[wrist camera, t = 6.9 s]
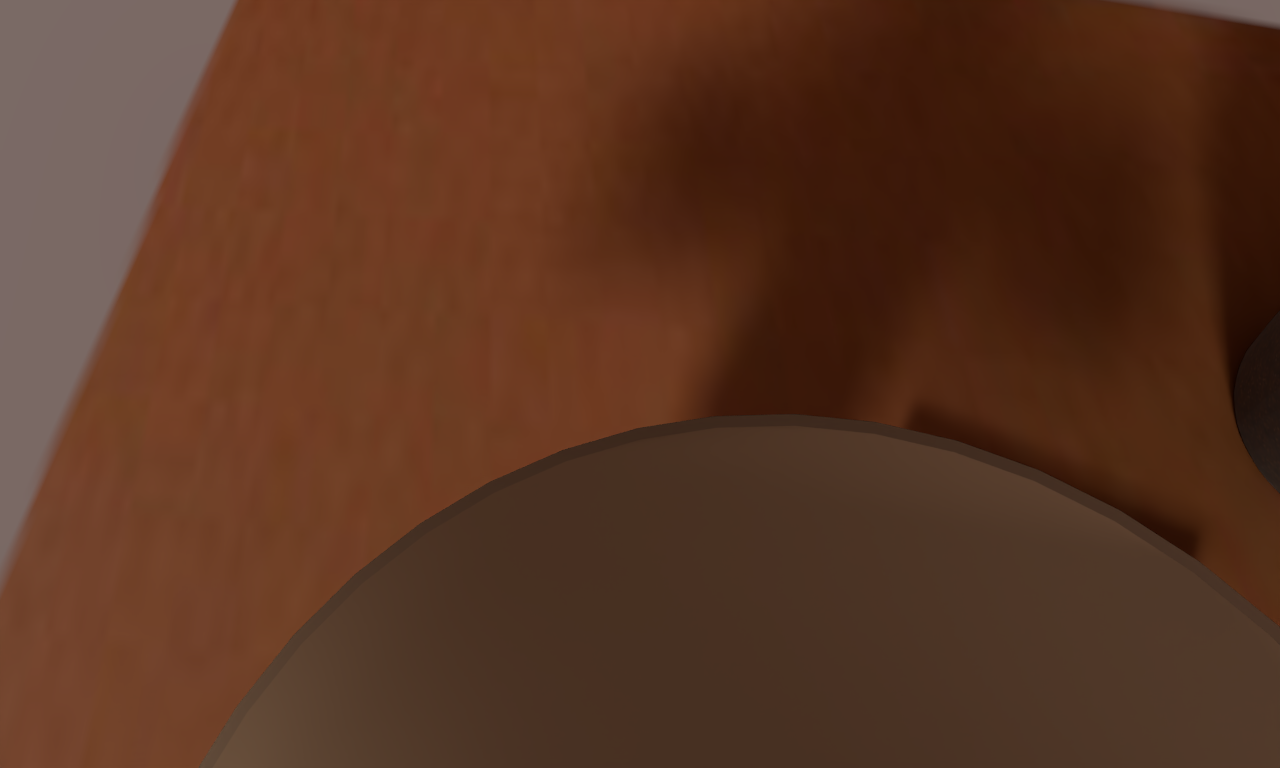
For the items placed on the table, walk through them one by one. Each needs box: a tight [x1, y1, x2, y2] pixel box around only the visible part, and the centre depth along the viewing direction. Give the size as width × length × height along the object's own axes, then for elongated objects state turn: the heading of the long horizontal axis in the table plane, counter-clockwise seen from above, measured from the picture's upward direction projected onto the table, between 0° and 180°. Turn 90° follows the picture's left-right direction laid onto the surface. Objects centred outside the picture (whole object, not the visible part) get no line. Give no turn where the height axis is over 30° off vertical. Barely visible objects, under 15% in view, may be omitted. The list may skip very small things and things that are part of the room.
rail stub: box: [199, 414, 1280, 768], centre depth 9 cm, size 5×5×14 cm
